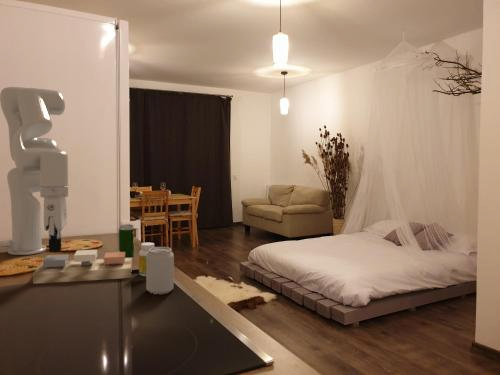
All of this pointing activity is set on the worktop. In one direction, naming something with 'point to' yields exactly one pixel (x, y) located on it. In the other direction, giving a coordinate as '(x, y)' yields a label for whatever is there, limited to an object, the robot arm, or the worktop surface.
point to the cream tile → (85, 256)
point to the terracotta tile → (114, 258)
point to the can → (160, 270)
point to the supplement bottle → (144, 257)
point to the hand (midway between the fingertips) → (55, 250)
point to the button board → (83, 272)
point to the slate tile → (55, 261)
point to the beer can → (126, 240)
